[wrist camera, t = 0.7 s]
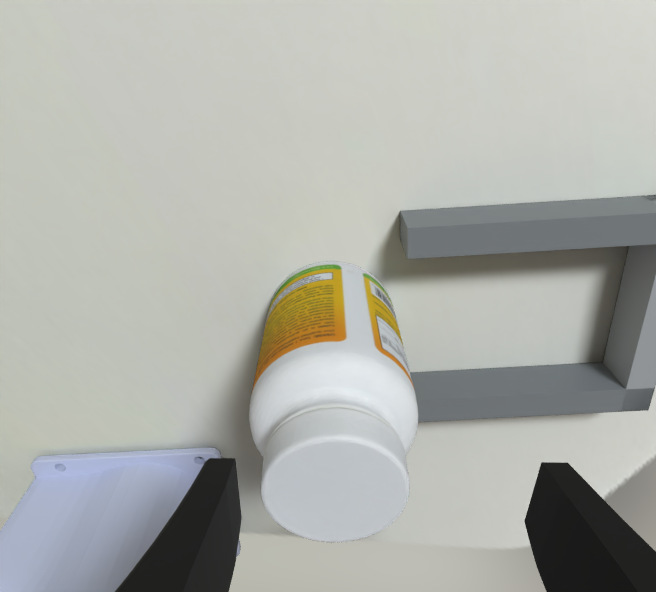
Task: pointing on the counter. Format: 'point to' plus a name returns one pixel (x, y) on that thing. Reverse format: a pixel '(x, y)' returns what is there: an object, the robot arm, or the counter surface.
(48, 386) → the counter surface
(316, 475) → the supplement bottle
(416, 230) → the gray u-shaped bracket
